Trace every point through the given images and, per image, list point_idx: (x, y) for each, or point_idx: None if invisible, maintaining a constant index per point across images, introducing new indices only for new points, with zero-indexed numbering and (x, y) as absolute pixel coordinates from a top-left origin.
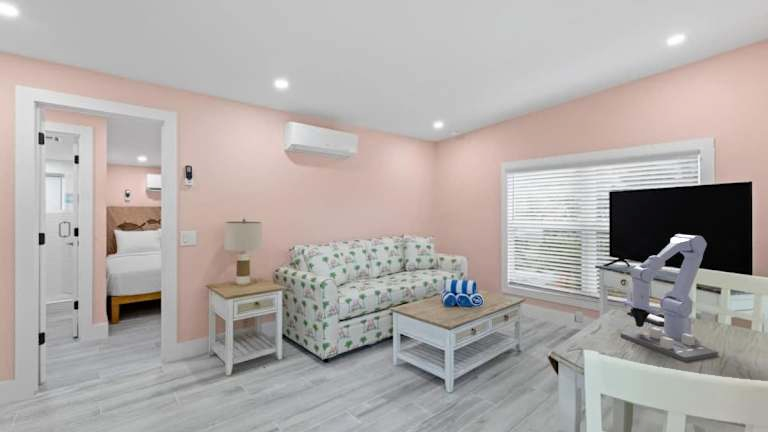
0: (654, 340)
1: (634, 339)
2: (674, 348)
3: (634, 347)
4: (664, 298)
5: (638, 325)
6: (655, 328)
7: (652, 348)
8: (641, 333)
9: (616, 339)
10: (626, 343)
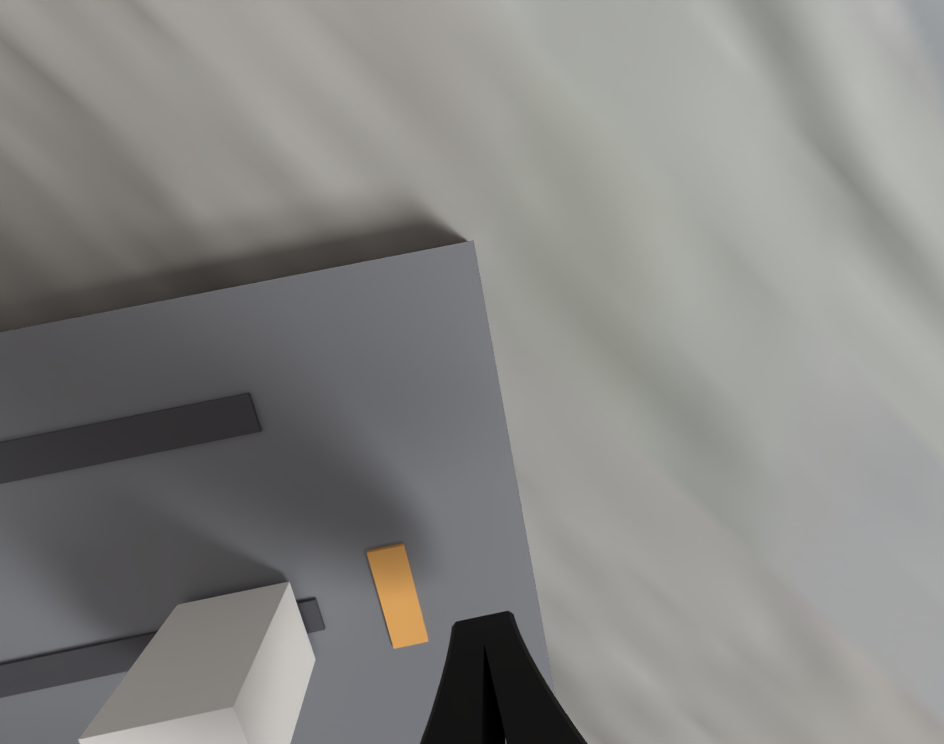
0: (140, 536)
1: (231, 287)
2: None
3: (3, 82)
4: None
5: (469, 633)
6: None
7: None
8: (426, 565)
9: (355, 53)
10: (178, 88)
